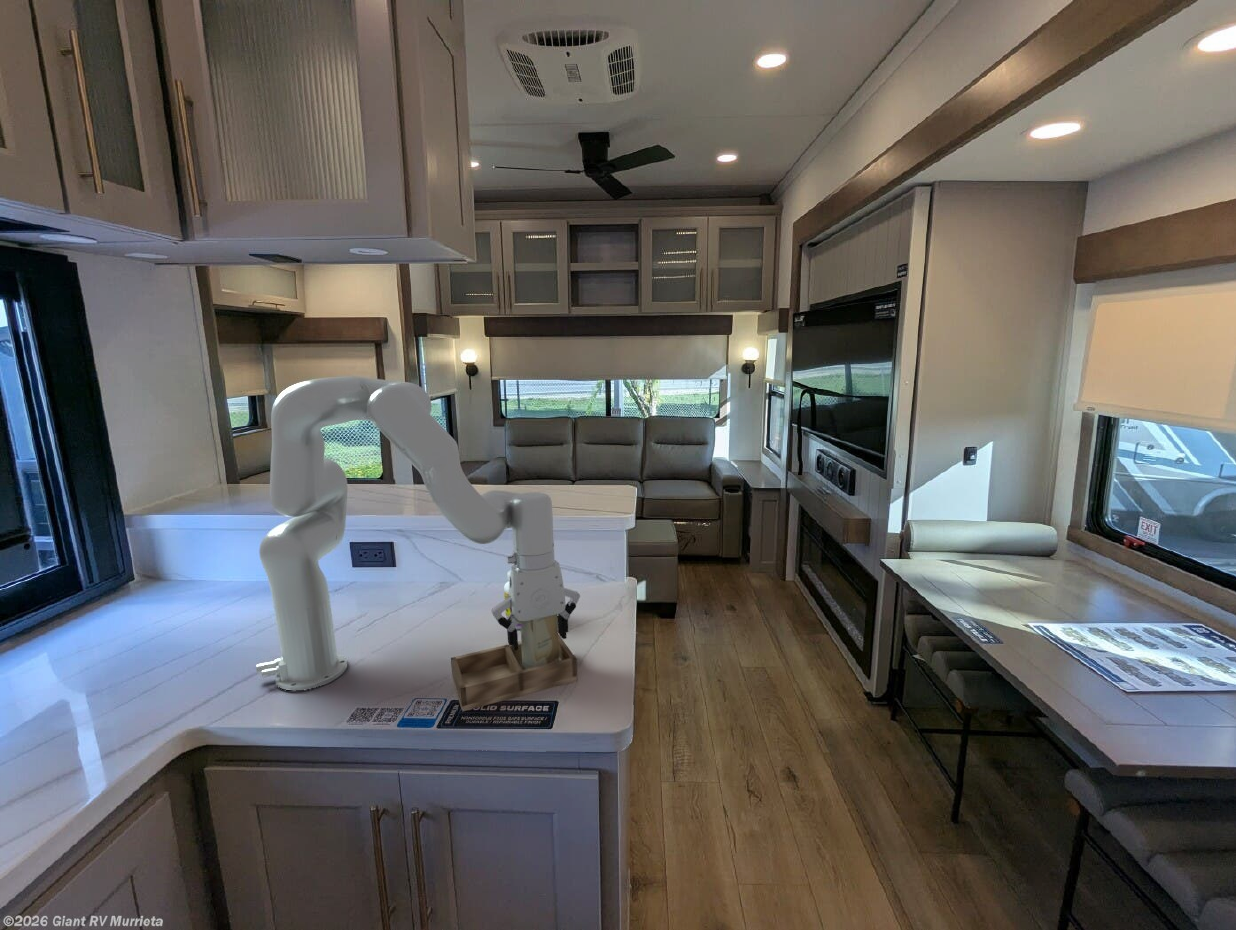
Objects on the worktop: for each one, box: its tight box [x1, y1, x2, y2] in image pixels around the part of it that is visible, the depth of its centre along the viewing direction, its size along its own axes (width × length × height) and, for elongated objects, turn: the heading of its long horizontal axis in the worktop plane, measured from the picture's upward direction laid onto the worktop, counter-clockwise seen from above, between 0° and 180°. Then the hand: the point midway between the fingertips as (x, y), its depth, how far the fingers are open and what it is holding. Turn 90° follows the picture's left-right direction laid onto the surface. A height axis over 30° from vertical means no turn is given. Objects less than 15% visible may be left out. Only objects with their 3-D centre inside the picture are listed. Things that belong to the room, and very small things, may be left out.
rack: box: [450, 633, 578, 712], centre depth 109 cm, size 22×11×4 cm, turn 114°
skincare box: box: [520, 615, 559, 670], centre depth 111 cm, size 6×4×12 cm
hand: (538, 641), depth 111 cm, fingers open, 9 cm apart
